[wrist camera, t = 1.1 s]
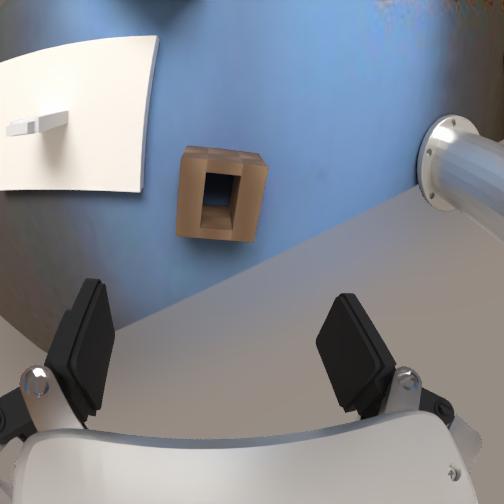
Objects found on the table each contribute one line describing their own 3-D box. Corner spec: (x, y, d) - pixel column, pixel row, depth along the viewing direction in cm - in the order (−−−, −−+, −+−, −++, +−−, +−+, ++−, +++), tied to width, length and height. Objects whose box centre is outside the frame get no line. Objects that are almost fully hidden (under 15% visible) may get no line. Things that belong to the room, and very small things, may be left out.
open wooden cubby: (258, 153, 24) (268, 167, 20) (246, 216, 27) (253, 242, 23) (187, 145, 23) (181, 158, 19) (181, 211, 26) (175, 236, 22)
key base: (159, 38, 17) (138, 18, 11) (143, 187, 24) (121, 222, 18) (4, 63, 13) (-42, 68, 7) (4, 185, 21) (-36, 214, 14)
